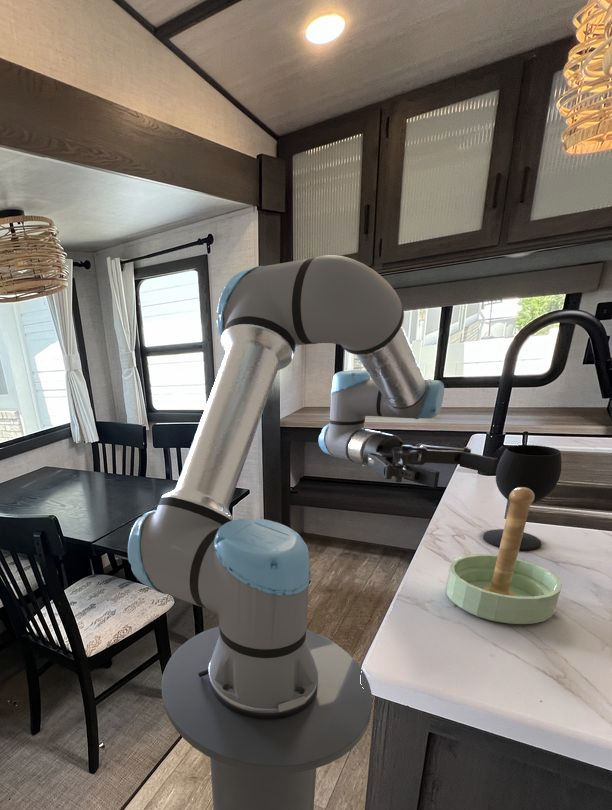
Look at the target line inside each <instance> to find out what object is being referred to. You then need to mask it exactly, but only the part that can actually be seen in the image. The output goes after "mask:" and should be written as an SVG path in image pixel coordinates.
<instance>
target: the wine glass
mask: <svg viewBox="0 0 612 810" xmlns="http://www.w3.org/2000/svg"><path fill="white" fill-rule="evenodd" d="M562 461H563V460H562V453H561V451H560V449H557V448H555V447H550V446H546V445H537V444H536V445H535V444H517V445H511V446H508V447H506V449H505V450H504V451H503V453H502V455H501V456H500V459H499V460H498V463H497V467H496V471H495V485H496V487H497V489H498V492H500V494H501V495H502V496H503V497H504V498H505V499H506V500H507V501H508V502H510V501H509V495H510V493H511V492H512V491H513V490H514V489H516V488H519V487H526V488H529V489H530V490H532V491H533V493H534V501H533V502H532V503H531V504H530V505H533V504H535V503H536V502H539V501H540V500H543V499H544V498H546V497H547V496H548V495H549V494H551V493H552V492H553V491H554V489H555V488H556V487H557V485H558V482H559V480H560V477H561V474H562V466H563V465H562V463H563V462H562ZM503 531H504V528H503V529H501V528H499V529H490V530H487V531H485V532H484V533H483V534H482V539H483V540H484V541H485V542H486V543H487V544H489V545H491V546H494V547H497V548H500V544H501V539H502V535H503ZM541 546H542V541H541V540H540V539H539V538H538V537H537V536H535V535H533V534H530V533H527V532H525V531H524V532H523V536H522V540H521V544H520V548H519V552H528V551H534V550H537V549H539V548H541Z"/></svg>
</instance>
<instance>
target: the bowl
mask: <svg viewBox="0 0 612 810" xmlns="http://www.w3.org/2000/svg"><path fill="white" fill-rule="evenodd" d="M497 557H498V554H488V553H486V554H485V553H484V554H482V553H481V554H480V553H479V554H476V553H475V554H469V555H463V556H460V557H458V558H455V559H454V560H452V562H451V563H450V564H449V567H448V574H447V579H446V585H445V593H446V596H447V597H448V598H449V600H450V601H451V602H452V603H453V604H454V605H456V606H457V607H459V608H460V609H462V610H463V611H466V612H467V613H469V614H471V615H473V616H476V617H477V618H481V619H484V620H487V621H491V622H495V623H501V624H509V625H531V624H537V623H543V622H545V621H547V620H549V619H551V618H552V617H553V615H554V613H555V610H556V607H557V604H558V601H559V597H560V594H561V591H562V587H563V585H562V582H561V581H560V579H559V577H558V576H557V575H556V574H554V573H553V572H551V571H550V570H549V569H547V568H545V567H542V566H541V565H539V564H536V563H533V562H530V561H527V560H524V559H521V558H517V560H516V564H515V568H514V572H513V576H512V580H511V584H510V588H509V590H511V591H512V592H513V593H514V596H510V595H503V594H498V593H494V592H490V591H487V590H484V588H485V587H487V586H491V583H492V579H493V574H494V570H495V566H496V561H497Z"/></svg>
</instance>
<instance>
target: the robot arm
mask: <svg viewBox="0 0 612 810" xmlns="http://www.w3.org/2000/svg"><path fill="white" fill-rule="evenodd" d="M216 309H217V310H216V313H217V314H218V318H217V319H216V326H217V331H218V334H219V336H220V344H221V346H222V349H223V351H224V352H225V354H224V357H223V359H222V362H221V365H220V368H219V369H218V373H217V376H216V379H215V381H214V383H213V387H212V388H211V392H210V395H209V398H208V399H207V401H206V405H205V408H204V411H203V414H202V416H201V418H200V421H199V424H198V426H197V430H196V432H195V434H194V437H193V440H192V442H191V446H190V448H189V451H188V453H187V456H186V459H185V461H184V464H183V467H182V470H181V472H180V475H179V478H178V480H177V483H176V486H175V488H174V489H173V490H171V491H169V492H167V493H164V494H163V495H162V496H161V498H160V499H159V503H158V505H157V508H156V510H151V511H148V512H145V513H143V514H142V516H140V517H138V518H137V520H136V521H135V522H134V524H133V525H132V527H131V531H130V533H129V537H128V542H127V559H128V563H129V564H130V569H131V572H132V574H133V576H134V577H135V578H136V579H137V580H138V581H139V582H140V583H141V584H143V585H145V586H147V587H149V588H152V589H153V590H154V591H155V592H157V593H160V594H162V595H168V596H171V597H173V598H175V599H178V600H182V601H184V602H186V603H190V604H192V605H195V606H198V607H200V608H204V609H206V610H209V611H211V612H214V613H216V614H217V615H218V626H219V628H220V635H219V638H218V641H217V644H216V647H215V650H214V652H213V655H212V658H211V661H210V664H209V668H208V669H206V670H203V671H201V672H198V675H199V677H202V676H205V675H207V674H209V683H210V687H211V690H212V692H213V694H214V695H215V697H216V698H217V699H218V700H219V701H220V702H221V703H222V704H223V705H224V706H226V707H227V708H228V709H230V710H232V711H234V712H236V713H238V714H241V715H243V716H247V717H251V718H256V719H267V720H271V719H281V718H286V717H289V716H293V715H295V714H297V713H299V712H301V711H303V710H304V709H305V708H307V707H308V706H309V705H310V704H311V703H312V701H313V700H314V698H315V696H316V693H317V686H318V671H317V668H316V665H315V663H314V660H313V657H312V654H311V651H310V648H309V646H308V643H307V640H306V630H307V627H308V626H307V623H308V607H309V592H310V590H309V589H310V581H311V567H310V553H309V548H308V545H307V544H306V542H305V541H304V538H302V536H301V535H300V534H299V533H298V532H297V531H295V529H292V528H290V527H289V526H287V525H285V524H282V523H280V522H277V521H273V520H270V519H264V518H255V519H250V518H238V519H234V518H233V516H232V514H231V512H230V509H229V507H230V504H231V502H232V499H233V497H234V494H235V491H236V488H237V487H238V482H239V480H240V476H241V475H242V472H243V468H244V466H245V463H246V461H247V457H248V455H249V452H250V449H251V446H252V444H253V440H254V438H255V435H256V433H257V430H258V427H259V424H260V421H261V419H262V416H263V413H264V410H265V407H266V405H267V401H268V399H269V396H270V393H271V391H272V388H273V385H274V382H275V379H276V376H277V374H278V371H281V370H283V369H285V368H286V367H288V366H289V365H290V364H291V362H292V361H293V358H294V355H295V352H296V350H297V347H298V346H303V345H316V344H334V345H340V346H341V348H342V349H343V350H345V351H346V352H347V353H349V354H352V355H355V356H356V357H357V359H358V360H359V361H360V363H361V365H362V366H363V368H364V369H365V370H363V369H362V370H361V369H354V370H353V369H352V370H343V371H338V372H336V373H335V374H334V375H333V377H332V383H331V392H330V407H329V408H330V409H329V422H328V424H326V425H324V427H323V428H322V429H321V432H320V434H319V435H318V446H319V448H320V450H321V451H322V452H323V453H324V454H327V455H329V456H332V457H334V458H337V459H342V460H346V461H349V462H352V463H355V464H360V465H361V466H362V467H363V468H367V467H369V468H372V469H373V470H374V471H376V472H377V473H378V474H379V475H380V476H381V477H382V478H383V479H385V480H392V478H393V477H394V482H395V483H402V481H403V479H404V480H407V481H411V482H413V483H417V484H419V485H423V486H426V487H429V488H433V489H435V488H438V485H439V480H440V473H441V472H440V471H438V470H435V469H431V468H427V467H423V466H424V465H425V464H442V465H443V464H445V465H459V467H460V468H465V469H469V470H473V471H477V472H481V473H485V474H489V475H494V474H495V475H496V470H497V466H498V463H499V458H496V457H491V456H486V455H481V454H476V453H473V452H472V449H471V448H469V447H468V446H464V447H452V446H440V445H439V446H438V445H428V444H423V443H417V444H416V445H415V446H414V445H412V444H404V443H403V440H402V439H401V438H400V437H399V436H398V435H395V434H391V433H386V432H382V431H377V430H372V429H366V428H365V422H366V417H379V418H380V417H382V418H398V419H414V420H419V419H433V418H435V417H437V416H438V415H439V413H440V411H441V409H442V405H443V401H444V395H445V385H444V382H443V381H441V380H438V379H436V380H435V379H431V378H429V379H425V377H424V374H423V373H422V369H421V368H420V366H419V363H418V360H417V358H416V356H415V354H414V351H413V349H412V346H411V344H410V342H409V340H408V337H407V335H406V333H405V330H404V328H403V324H404V322H405V321H404V320H405V310H404V307H403V304H402V301H401V299H400V297H399V295H398V294H397V291H396V290H395V289H394V288H393V286H392V285H391V284H390V282H388V281H387V280H386V279H385V278H384V277H383V276H382V275H380V274H379V273H378V272H377V271H376V270H374V269H373V268H371V267H369V266H368V265H366V264H365V263H363V262H361V261H358V260H356V259H354V258H350V257H347V256H344V255H337V254H325V255H319V256H316V257H310V258H306V259H299V260H293V261H287V262H281V263H280V262H279V263H276V264H269V265H257V266H253V267H251V268H250V269H246V270H243V271H239V272H238V273H236V274H234V275H233V276H232V277H231V278H230V279H229V280H228V281H227V283H226V284H225V286H224V288H223V289H222V291H221V294H220V296H219V299H218V303H217V308H216Z"/></svg>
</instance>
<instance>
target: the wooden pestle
mask: <svg viewBox="0 0 612 810" xmlns="http://www.w3.org/2000/svg"><path fill="white" fill-rule="evenodd" d="M533 501H534V493H533V491H532V490H530V489H529V488H526V487H519V488H516V489H514V490H513V491H512V492H511V493H510V495H509V501H508V502H509V505H508V509H507V514H506V518H505V522H504V527H503V529H504V531H503V535H502V539H501V544H500V547H498V548H499V549H498V553H497V555H498V557H497V561H496V566H495V570H494V574H493V579H492V583H491V586H487V587H485V588H484V590H487V591H490V592H494V593H498V594H503V595H510V596H514V593H513V592H512V591H511V590H509V588H510V584H511V580H512V576H513V572H514V568H515V564H516V560H517V559H518V556H519V552H520V551H519V548H520V544H521V540H522V536H523V532H524V533H525V527H526V523H527V520H528V515H529V511H530V507H531V505H532V504H533V503H532V502H533ZM531 503H532V504H531Z"/></svg>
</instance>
